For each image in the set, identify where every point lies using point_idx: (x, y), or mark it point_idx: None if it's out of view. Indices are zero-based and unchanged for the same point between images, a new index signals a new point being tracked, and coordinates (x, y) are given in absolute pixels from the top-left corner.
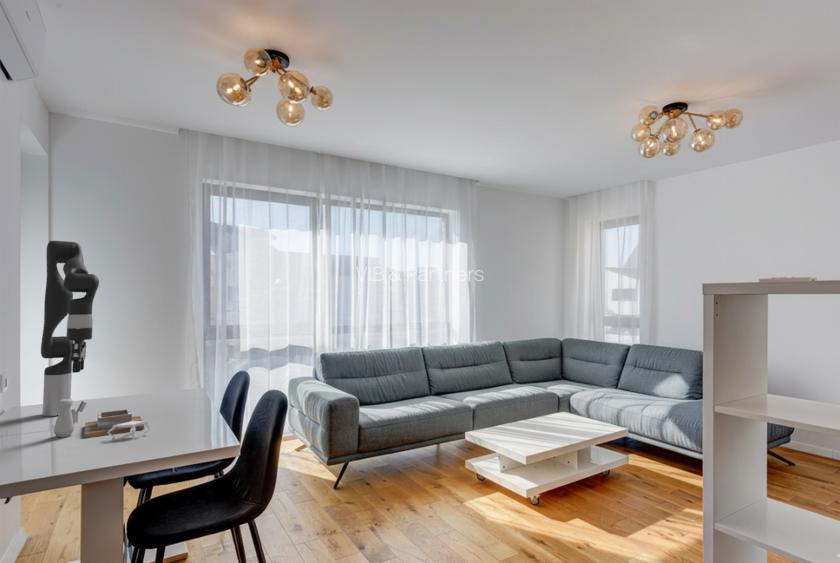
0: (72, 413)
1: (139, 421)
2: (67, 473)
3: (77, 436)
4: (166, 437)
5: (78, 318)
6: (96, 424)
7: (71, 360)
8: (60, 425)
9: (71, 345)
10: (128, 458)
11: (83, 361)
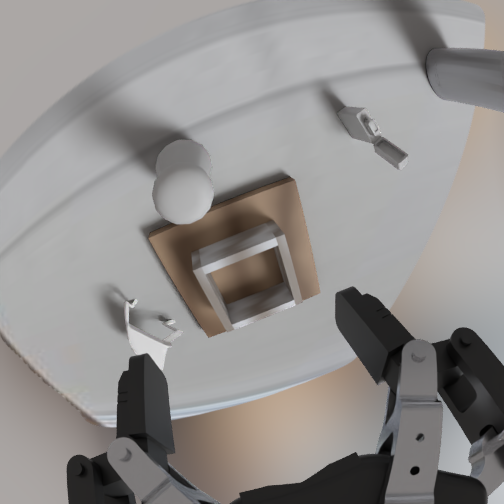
0: (362, 130)
1: (162, 359)
2: None
3: None
4: None
5: None
6: (256, 223)
7: (74, 456)
8: (157, 171)
9: None
10: (35, 354)
11: (370, 374)
